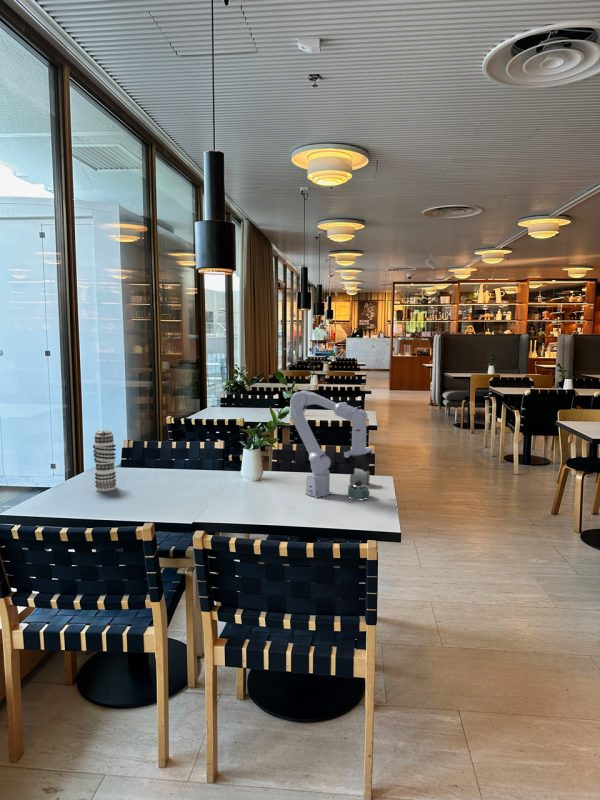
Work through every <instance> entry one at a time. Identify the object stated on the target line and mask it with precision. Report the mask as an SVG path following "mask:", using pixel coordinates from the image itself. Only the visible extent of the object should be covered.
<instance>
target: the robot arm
mask: <svg viewBox="0 0 600 800" xmlns="http://www.w3.org/2000/svg"><path fill="white" fill-rule="evenodd" d="M289 404H290V410H289V412H290V413H289V415H290V418H291V420H292V422H293V425H294V427H295V428H296V431H297V432H298V435H299V437H300V440H301V441H302V443H303V444H304V447H305V450H306V451H307V453H308V460H309V461H310V469H311V471H312V473H311V474H309V475H308V476H306V480H305V481H306V482H305V485H306V486H305V491H306V492H304V494H305V495H307V494H308V495H307V496H310V495H311V497H313V496H314V497H313V498H316V497H319V498H322V497H321V496H323V497H326V496H325V495H327V496H330V495H329V494H332V493H334V492H332V491H330V484H331V483H330V479H331V477H330V473H331V472H330V470H329V468H330V467H331V464H332V460H331V458H330V457H329V456H327V455H326V453H325V451H324V450H323V449H321V447H320V445H319V443H318V442H317V439H316V437H315V435H314V433H313V431H312V429H311V427H310V425H309V423H308V421H307V419H306V417H305V415H304V414H305V412H306V410H307V407H308V406H311V405H317V406H321V407H323V408H325V409H328V410H331V411H332V412H334V413H333V414H335V416H337V417H339V418H341V419H344V420H347V421H349V422H351V423H352V428H351V430H352V431H351V449H350V450H348V451H344V452H343V460H344V461H345V463H346V466H347V470H348V473H349V475H350V474H352V475H353V474H354V471H355V468H356V463H357V460H358V458H357V457H358V456H360V457H361V463H362V464H361V465H362V469H363V471H365V472H367V471H369V467H370V464H371V462H372V459H373V458H374V448H372V447H367V422H366V421H367V420H368V413H367V412H366V410H364V409H362V408H359V409H358V407H357V406H355V407H354V406H351V405H349V404H348V402H346V401H343V402H342V401H341V402H338V403H337V402H335V401H332V400H330V399H329V398H326V397H324V396H321V395H319V394H317V393H315V392H312V391H309V390H306V389H302V390H300V391H297V392H294V393H293V394H292V396H291V398H290V400H289ZM355 456H357V457H355ZM332 495H333V494H332Z"/></svg>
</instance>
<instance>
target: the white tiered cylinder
mask: <svg viewBox="0 0 600 800" xmlns="http://www.w3.org/2000/svg"><path fill="white" fill-rule="evenodd" d="M114 435H115V434H114V433H113V432H112V431H110V430H107V429H105V430H98V431H96V432H95V434H93V436H94V444H93V445H92V448H93V450H92V452H93V457H94V458H93V461H94V464H95V473H94V475H95V476H94V479H95V481H94V483H95V485H94V486H95V491H98V492H108V491H109V492H110V491H114V490H115V489H117V483H116V482H117V479H116V473H117V472H116V470H115V469H116V468H115V463H116V460H115V459H116V453H115V451H116V450H117V449H116V448H115V447H116V444H115V441H114Z"/></svg>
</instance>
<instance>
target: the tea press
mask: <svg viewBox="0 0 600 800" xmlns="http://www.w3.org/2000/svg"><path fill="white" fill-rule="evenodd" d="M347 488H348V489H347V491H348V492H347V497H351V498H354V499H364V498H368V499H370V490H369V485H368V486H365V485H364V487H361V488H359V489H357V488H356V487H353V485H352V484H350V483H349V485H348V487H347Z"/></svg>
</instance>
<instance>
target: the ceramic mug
mask: <svg viewBox="0 0 600 800" xmlns="http://www.w3.org/2000/svg"><path fill="white" fill-rule="evenodd" d="M370 474H371V472H370V470H368V471H367V472H365V471H363V469H361V468H356V467H355V471H354V474H353V475H352V474H349V475H350V476H349V485H350V484H352V485H353V484H355V480H357V479H359V480H362V484H363V485H366V486H367V485H368V486H369V484H370V478H371V477H370V476H371V475H370Z"/></svg>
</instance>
